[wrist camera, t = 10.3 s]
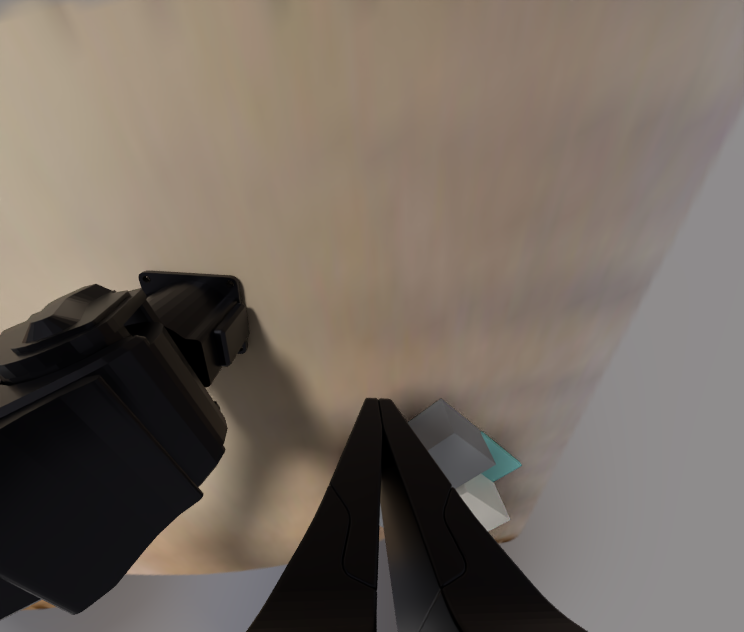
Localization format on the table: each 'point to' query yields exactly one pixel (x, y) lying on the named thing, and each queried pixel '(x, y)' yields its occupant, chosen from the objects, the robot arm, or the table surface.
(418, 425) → the plinth
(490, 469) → the mat
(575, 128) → the table surface
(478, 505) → the card box
